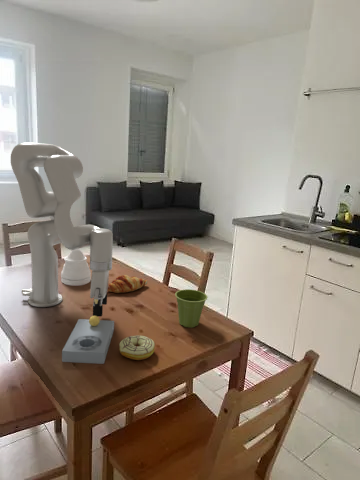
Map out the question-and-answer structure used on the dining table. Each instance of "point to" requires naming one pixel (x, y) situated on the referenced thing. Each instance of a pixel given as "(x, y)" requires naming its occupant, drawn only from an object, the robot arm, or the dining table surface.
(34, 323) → the dining table surface
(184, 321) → the plant pot
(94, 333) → the deck
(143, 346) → the decorated donut
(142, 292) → the dining table surface
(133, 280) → the croissant
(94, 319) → the ball
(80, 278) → the honey pot
